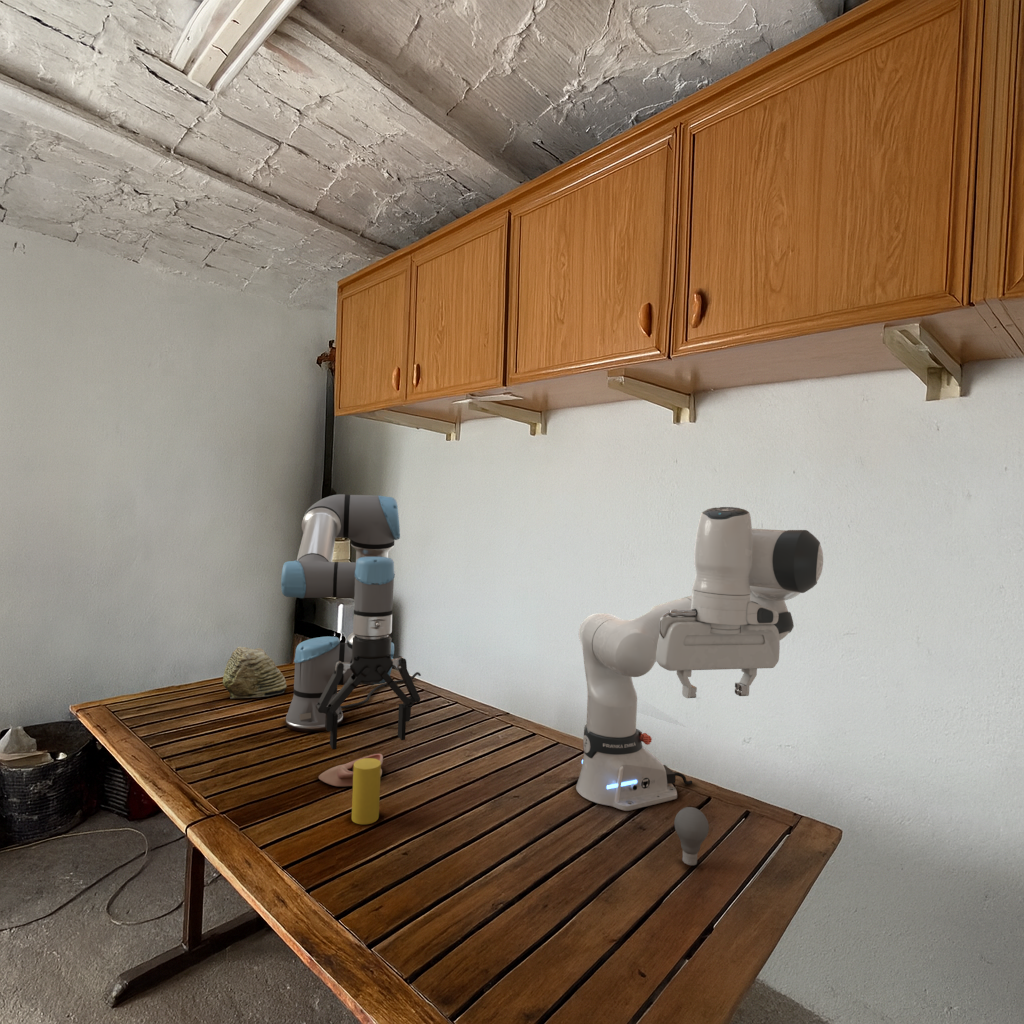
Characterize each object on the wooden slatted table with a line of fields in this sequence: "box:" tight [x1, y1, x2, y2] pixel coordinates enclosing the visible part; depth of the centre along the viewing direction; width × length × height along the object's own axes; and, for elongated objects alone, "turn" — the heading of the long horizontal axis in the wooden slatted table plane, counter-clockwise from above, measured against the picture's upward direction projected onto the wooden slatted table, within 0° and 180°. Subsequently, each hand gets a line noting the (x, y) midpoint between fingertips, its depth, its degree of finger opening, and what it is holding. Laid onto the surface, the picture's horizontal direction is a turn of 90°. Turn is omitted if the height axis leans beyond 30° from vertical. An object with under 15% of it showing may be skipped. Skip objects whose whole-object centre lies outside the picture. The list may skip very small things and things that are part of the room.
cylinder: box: [351, 758, 382, 825], centre depth 126 cm, size 5×5×11 cm
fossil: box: [222, 646, 288, 699], centre depth 198 cm, size 9×18×15 cm, turn 132°
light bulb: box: [673, 806, 710, 866], centre depth 114 cm, size 6×6×10 cm
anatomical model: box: [318, 753, 384, 787], centre depth 144 cm, size 13×4×12 cm
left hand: (368, 742), depth 125 cm, fingers open, 13 cm apart
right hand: (715, 696), depth 101 cm, fingers open, 8 cm apart
